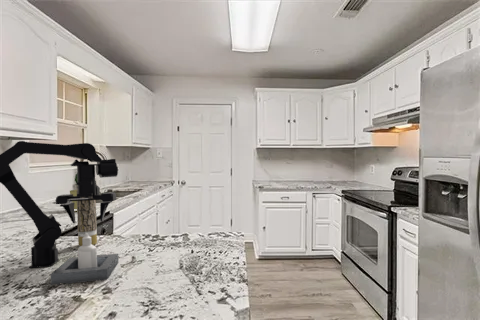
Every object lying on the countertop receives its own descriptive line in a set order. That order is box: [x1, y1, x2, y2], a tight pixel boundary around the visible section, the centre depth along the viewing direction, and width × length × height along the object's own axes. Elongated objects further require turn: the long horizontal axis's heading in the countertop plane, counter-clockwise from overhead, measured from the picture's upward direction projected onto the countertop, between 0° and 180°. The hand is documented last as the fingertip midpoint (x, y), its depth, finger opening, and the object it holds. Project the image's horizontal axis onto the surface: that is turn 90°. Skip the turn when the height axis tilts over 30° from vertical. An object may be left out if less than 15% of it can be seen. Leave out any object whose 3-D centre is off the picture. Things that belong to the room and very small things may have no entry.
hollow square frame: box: [50, 253, 119, 286], centre depth 91 cm, size 14×14×3 cm
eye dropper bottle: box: [77, 233, 98, 269], centre depth 91 cm, size 4×6×12 cm
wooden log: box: [75, 184, 98, 247], centre depth 123 cm, size 7×7×25 cm
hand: (87, 222), depth 108 cm, fingers open, 9 cm apart
